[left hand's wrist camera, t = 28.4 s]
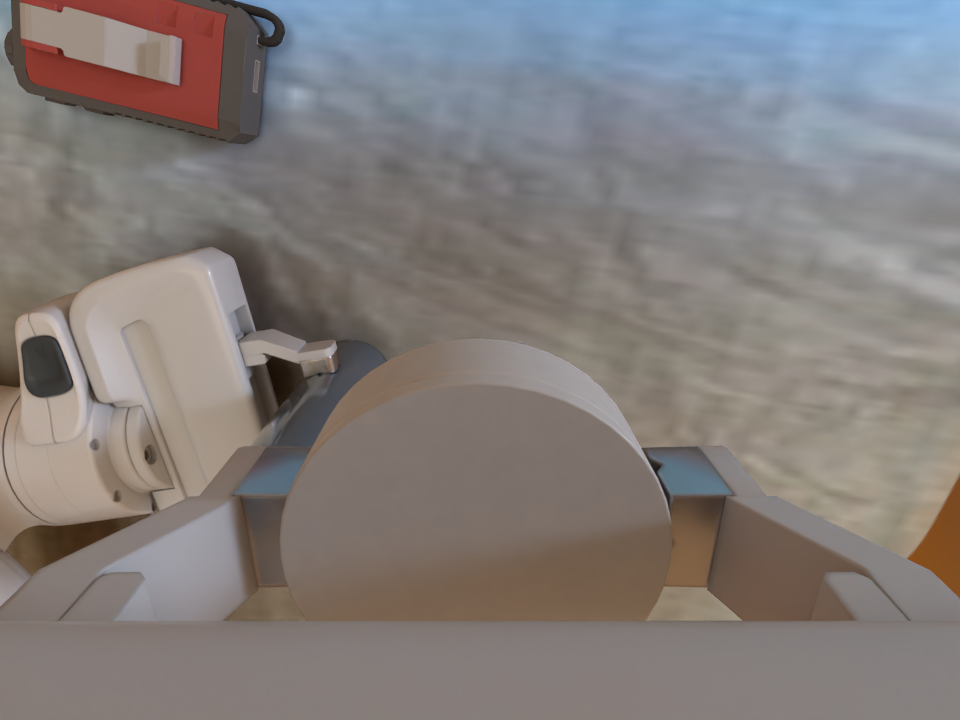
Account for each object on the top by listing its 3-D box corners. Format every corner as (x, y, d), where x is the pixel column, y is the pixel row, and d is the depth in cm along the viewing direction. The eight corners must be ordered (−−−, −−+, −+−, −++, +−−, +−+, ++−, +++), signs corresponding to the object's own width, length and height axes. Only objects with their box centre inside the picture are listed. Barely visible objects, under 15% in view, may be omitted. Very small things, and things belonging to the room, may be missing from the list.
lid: (274, 557, 10) (235, 638, 9) (379, 280, 9) (353, 313, 7) (550, 647, 11) (562, 736, 10) (701, 414, 9) (752, 475, 8)
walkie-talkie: (297, -16, 29) (-107, -129, 27) (268, -47, 25) (-212, -183, 23) (278, 155, 32) (-89, 64, 30) (249, 153, 28) (-180, 47, 26)
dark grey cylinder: (299, 388, 37) (186, 542, 22) (335, 325, 35) (242, 443, 20) (368, 425, 38) (305, 596, 23) (405, 365, 36) (366, 505, 21)
